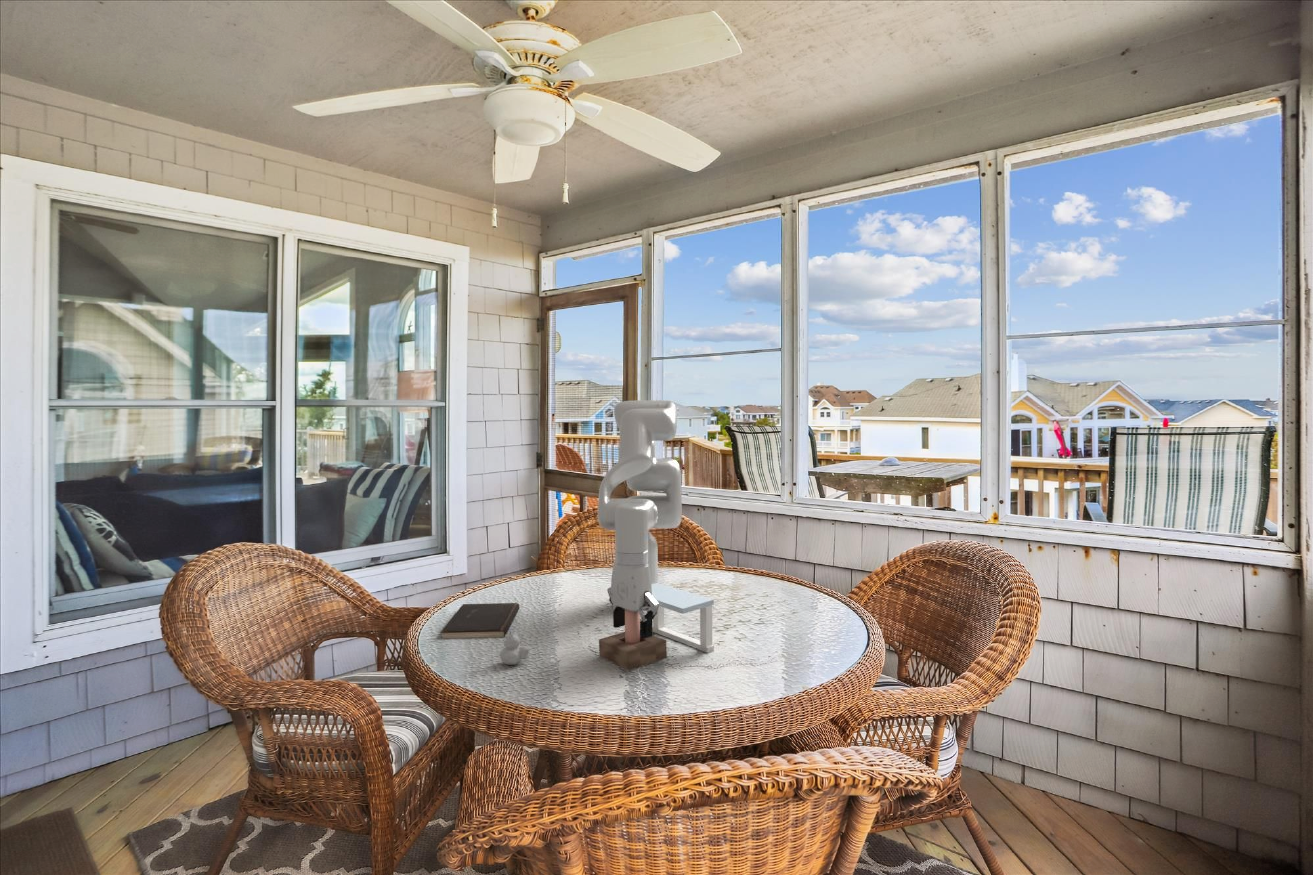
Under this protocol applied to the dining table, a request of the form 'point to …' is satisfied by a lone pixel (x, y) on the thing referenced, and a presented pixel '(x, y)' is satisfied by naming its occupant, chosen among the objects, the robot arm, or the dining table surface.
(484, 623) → the hardcover book
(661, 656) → the socket block
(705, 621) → the small white step stool
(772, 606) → the dining table surface
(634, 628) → the peg
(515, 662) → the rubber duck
